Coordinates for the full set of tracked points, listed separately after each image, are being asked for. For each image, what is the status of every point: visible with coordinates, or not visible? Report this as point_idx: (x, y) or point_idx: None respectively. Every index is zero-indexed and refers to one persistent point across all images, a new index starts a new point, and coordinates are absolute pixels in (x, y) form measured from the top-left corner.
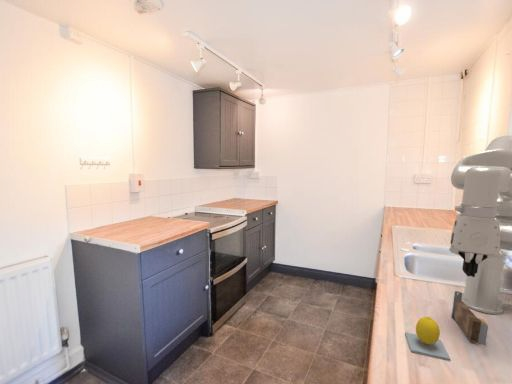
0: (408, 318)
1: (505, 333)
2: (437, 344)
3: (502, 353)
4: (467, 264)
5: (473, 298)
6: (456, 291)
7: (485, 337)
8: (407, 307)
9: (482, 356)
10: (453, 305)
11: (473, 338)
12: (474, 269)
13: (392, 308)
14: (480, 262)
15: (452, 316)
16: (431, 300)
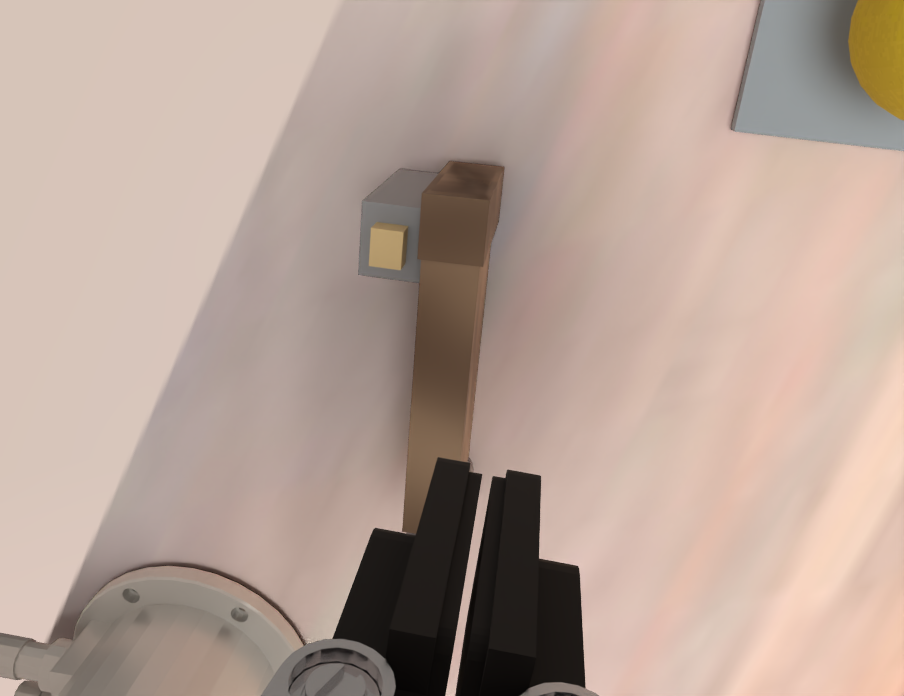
0: (832, 398)
1: (188, 358)
2: (800, 50)
3: (324, 102)
4: (540, 667)
5: (235, 675)
6: None
7: (393, 180)
8: (756, 549)
9: (490, 18)
10: None
11: (480, 169)
12: (439, 539)
13: (900, 514)
14: (291, 661)
15: (470, 471)
16: None
